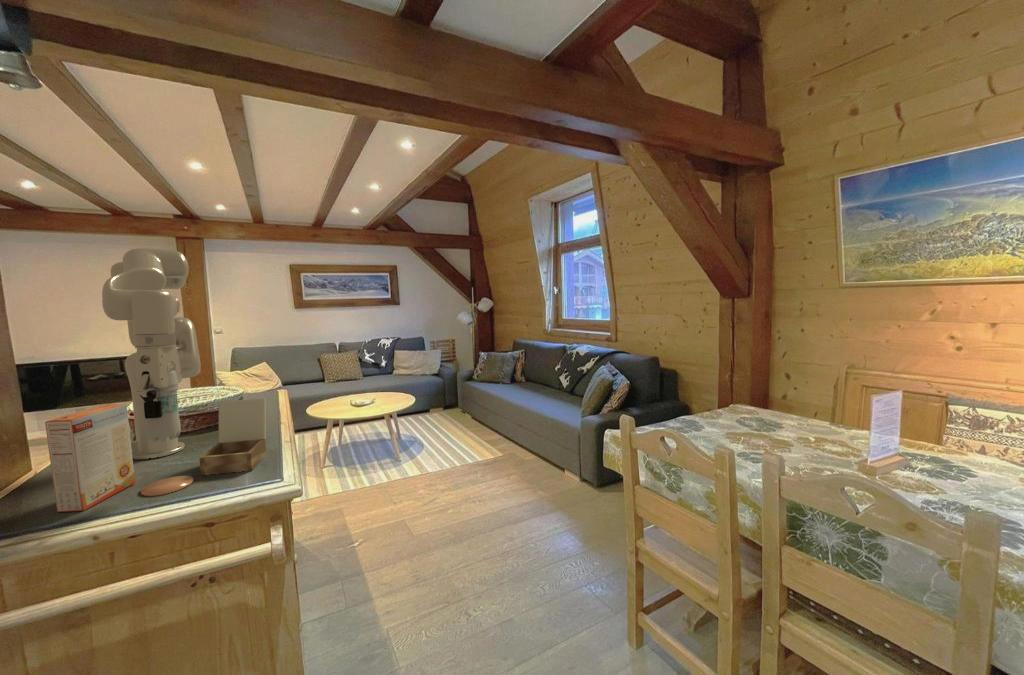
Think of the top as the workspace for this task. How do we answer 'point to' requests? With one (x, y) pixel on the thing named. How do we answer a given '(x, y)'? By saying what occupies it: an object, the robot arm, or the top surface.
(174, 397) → the bottle
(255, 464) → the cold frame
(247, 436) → the lid
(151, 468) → the top surface
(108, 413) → the cracker box
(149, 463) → the top surface
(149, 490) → the saucer
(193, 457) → the top surface
